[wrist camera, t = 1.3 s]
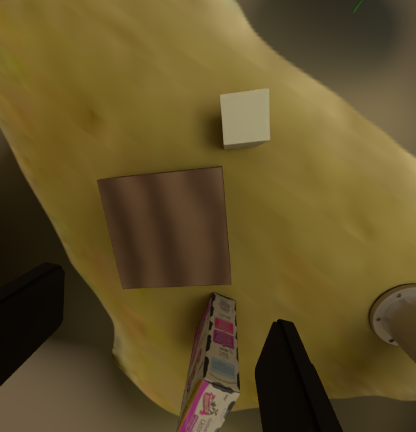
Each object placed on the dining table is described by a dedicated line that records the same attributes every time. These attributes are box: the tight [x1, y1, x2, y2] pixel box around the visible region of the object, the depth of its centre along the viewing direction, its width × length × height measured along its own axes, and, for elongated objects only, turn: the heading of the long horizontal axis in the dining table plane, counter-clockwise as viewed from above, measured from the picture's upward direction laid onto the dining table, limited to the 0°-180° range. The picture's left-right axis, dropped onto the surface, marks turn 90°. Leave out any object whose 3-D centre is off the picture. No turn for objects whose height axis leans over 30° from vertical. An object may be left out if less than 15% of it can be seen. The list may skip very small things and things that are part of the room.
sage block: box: [220, 88, 270, 150], centre depth 26 cm, size 5×5×10 cm
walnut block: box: [97, 166, 231, 289], centre depth 33 cm, size 18×18×6 cm
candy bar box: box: [177, 293, 240, 432], centre depth 33 cm, size 11×5×16 cm, turn 160°
